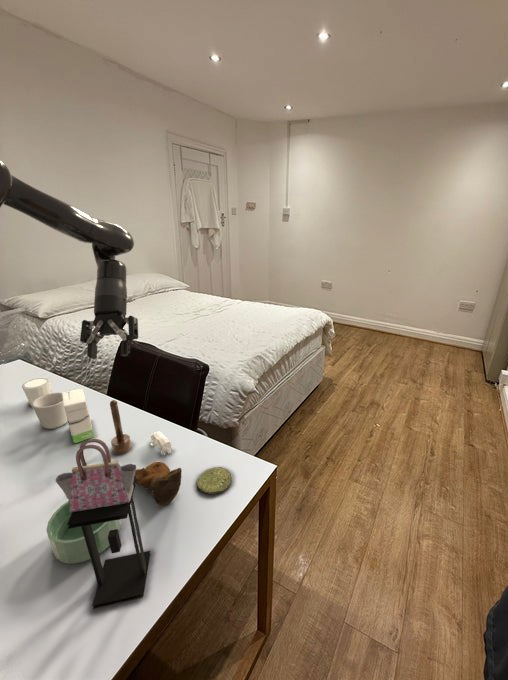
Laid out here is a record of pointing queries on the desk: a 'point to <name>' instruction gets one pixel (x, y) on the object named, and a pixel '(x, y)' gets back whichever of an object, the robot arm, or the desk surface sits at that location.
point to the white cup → (36, 388)
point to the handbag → (102, 506)
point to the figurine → (161, 442)
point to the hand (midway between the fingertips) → (108, 357)
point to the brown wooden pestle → (119, 432)
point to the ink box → (77, 415)
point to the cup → (50, 410)
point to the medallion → (214, 480)
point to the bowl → (75, 536)
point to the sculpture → (160, 481)
